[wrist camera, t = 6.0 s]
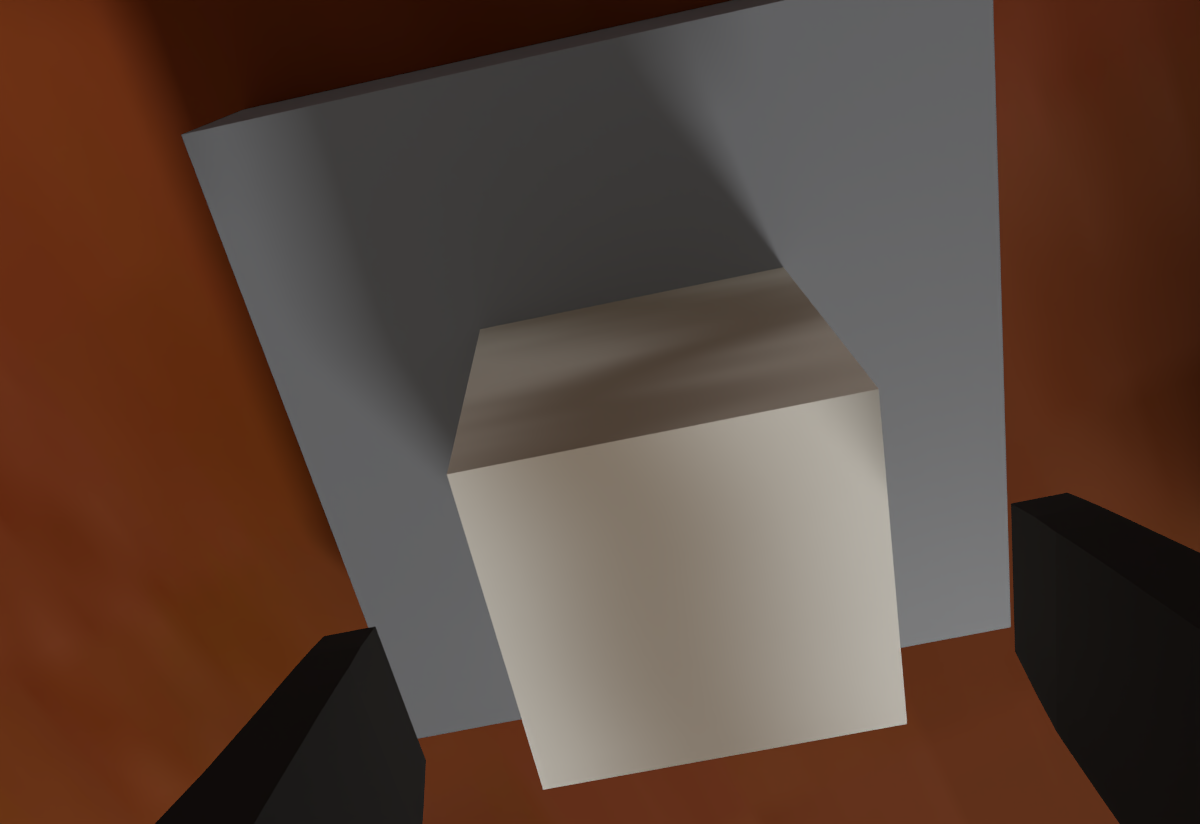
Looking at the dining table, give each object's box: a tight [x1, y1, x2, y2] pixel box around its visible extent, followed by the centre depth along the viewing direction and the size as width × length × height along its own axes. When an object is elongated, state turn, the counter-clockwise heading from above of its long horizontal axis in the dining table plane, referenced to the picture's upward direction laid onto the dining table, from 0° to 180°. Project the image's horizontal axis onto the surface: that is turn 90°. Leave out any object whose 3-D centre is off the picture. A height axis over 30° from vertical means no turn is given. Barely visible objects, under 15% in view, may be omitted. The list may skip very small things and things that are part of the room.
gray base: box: [182, 0, 1011, 739], centre depth 18 cm, size 12×12×3 cm
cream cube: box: [447, 267, 907, 790], centre depth 14 cm, size 5×5×5 cm
